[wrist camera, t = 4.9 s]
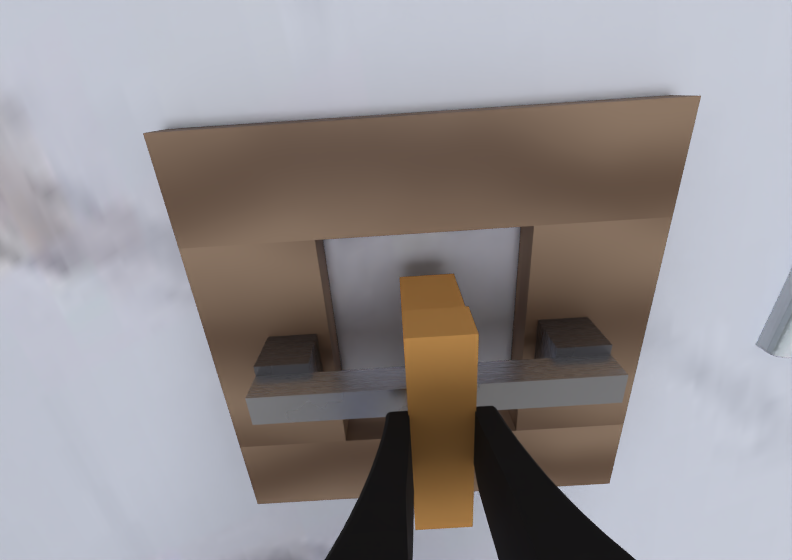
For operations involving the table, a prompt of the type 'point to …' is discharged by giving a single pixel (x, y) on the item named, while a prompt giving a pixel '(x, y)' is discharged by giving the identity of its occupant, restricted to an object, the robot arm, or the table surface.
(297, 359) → the hook bar
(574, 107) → the brown wooden frame
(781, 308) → the hard drive
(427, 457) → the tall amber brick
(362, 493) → the robot arm
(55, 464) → the table surface
